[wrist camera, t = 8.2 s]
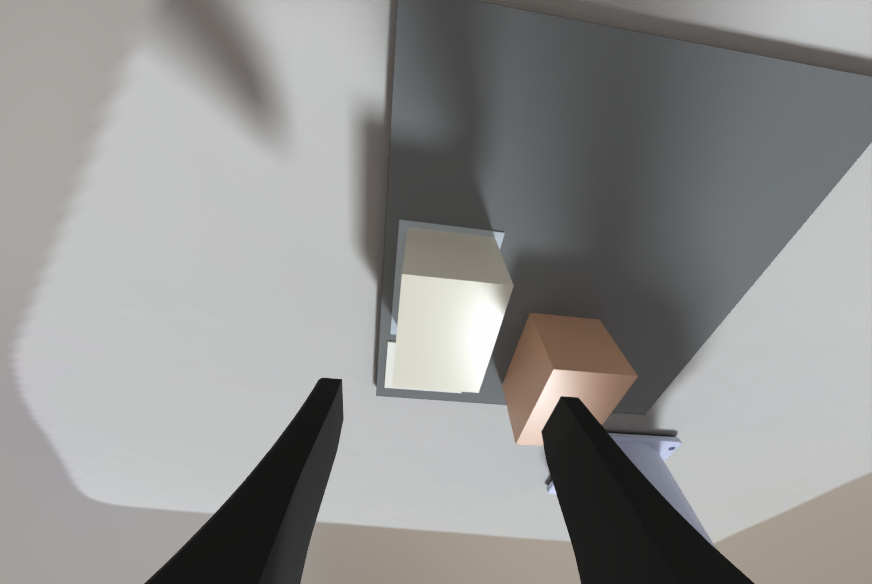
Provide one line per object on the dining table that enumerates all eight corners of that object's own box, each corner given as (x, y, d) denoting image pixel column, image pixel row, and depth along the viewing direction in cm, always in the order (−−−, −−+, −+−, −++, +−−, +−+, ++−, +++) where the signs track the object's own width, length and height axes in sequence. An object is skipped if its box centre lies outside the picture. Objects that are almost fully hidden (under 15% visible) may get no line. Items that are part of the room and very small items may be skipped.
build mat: (640, 407, 24) (645, 416, 23) (377, 388, 22) (375, 397, 21) (899, 85, 12) (923, 86, 12) (399, -11, 11) (398, -15, 10)
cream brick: (469, 334, 18) (478, 392, 15) (398, 327, 18) (391, 386, 15) (494, 237, 15) (513, 285, 12) (407, 227, 14) (401, 273, 11)
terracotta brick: (561, 389, 21) (585, 448, 18) (501, 384, 21) (515, 444, 18) (599, 319, 18) (638, 376, 15) (530, 312, 18) (553, 369, 14)
